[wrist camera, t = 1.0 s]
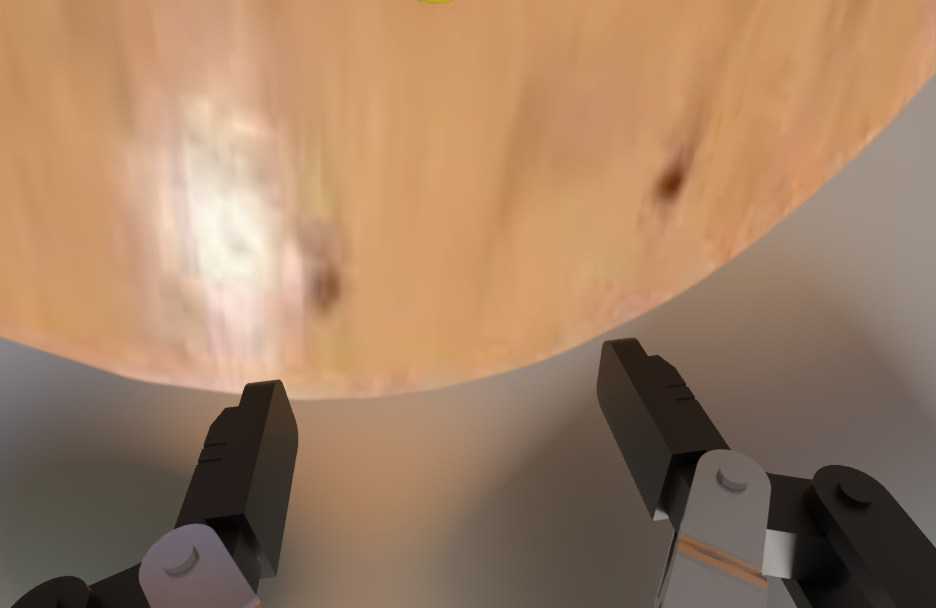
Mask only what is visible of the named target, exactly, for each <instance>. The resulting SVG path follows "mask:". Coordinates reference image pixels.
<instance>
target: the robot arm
mask: <svg viewBox="0 0 936 608" xmlns="http://www.w3.org/2000/svg"><path fill="white" fill-rule="evenodd" d="M597 395H598V400H599V404H600V407H601V409H602V412H603V414H604V416H605V418H606V420H607V423H608V425H609V427H610V429H611V431H612V433H613V435H614V438H615V440H616V442H617V444H618V446H619V449H620V451H621V453H622V455H623V457H624V459H625V462H626V464H627V466H628V468H629V470H630V472H631V475H632V477H633V479H634V481H635V483H636V485H637V488H638V490H639V492H640V494H641V496H642V499H643V501H644V503H645V505H646V507H647V509H648V511H649V514H650V516H651V518H652V520H653V521H654V520H661V519H668V518H669V519H670V521H671V523H672V526H673V527H674V530H675V531H674V533H673V537H672V541H671V544H670V548H669V552H668V556H667V559H666V563H665V567H664V571H663V575H662V578H661V582H660V586H659V590H658V593H657V597H656V601H655V605H654V608H766V604H767V594H768V581H767V578H766V577H765V576H763V575H762V574H765V575H771V576H776V577H781V579H782V581H783V583H784V585H785V586H786V588H787V590H788V592H789V594H790V595H791V597H792V599H793V601H794V602H795V604H796V606H797V608H936V548H935V547H934V546H933V544H932V543H931V542H930V541H929V540H928V538H926V536H925V535H924V534H923V532H922V531H921V530H920V529H919V528H918V526H917V525H916V524H915V523H914V522H913V521H912V519H911V518H910V517H909V516H908V515H907V513H906V512H905V511H904V510H903V508H902V507H901V506H900V505H899V504H898V502H897V501H896V500H895V499H894V498H893V496H892V495H891V494H890V493H889V492H888V491H887V490H886V488H884V486H883V485H881V484H880V483H879V482H878V481H877V480H875V479H874V478H872V477H871V476H869V475H867V474H865V473H863V472H861V471H859V470H857V469H854V468H851V467H847V466H841V465H829V466H825V467H822V468H820V469H819V470H818V471H817V472H816V473H815V475H814V477H813V479H812V480H811V479H804V478H797V477H790V476H783V475H775V474H771V473H767V472H765V471H764V470H763V469H762V468H761V467H760V466H759V465H758V464H757V463H756V462H755V461H753V460H752V459H750V458H749V457H747V456H745V455H743V454H741V453H738V452H735V451H732V450H731V449H730V448H729V447H728V445H727V444H726V442H725V441H724V439H723V438H722V437H721V435H720V433H719V432H718V430H717V429H716V427H715V426H714V424H713V423H712V422H711V420H710V419H709V417H708V416H707V414H706V413H705V411H704V410H703V408H702V407H701V405H700V404H699V402H698V401H697V400H695V396H694V395H693V393H692V392H691V391H690V389H689V388H688V387H686V383H685V381H684V380H683V379H682V377H681V376H680V374H679V373H678V371H677V370H676V368H675V367H673V366H672V365H671V364H669V363H668V362H667V361H665V360H664V359H663V358H661V357H660V356H659V355H654V356H647V354H646V352H645V351H644V349H643V348H642V346H641V345H640V343H639V341H638V340H637V339H636V338H626V339H617V340H609V341H605V342H604V343H603V346H602V352H601V359H600V366H599V373H598V380H597ZM297 449H298V429H297V424H296V420H295V417H294V414H293V412H292V409H291V406H290V403H289V400H288V397H287V394H286V391H285V388H284V386H283V383H282V382H281V380H271V381H262V382H254V383H248V384H246V386H245V387H244V390H243V394H242V397H241V400H240V403H239V406H237V407H229V408H225V409H224V410H223V412H222V413H221V414H220V415H219V416H218V417H217V419H216V420H215V421H214V422H213V423H212V425H211V426H210V428H209V431H208V434H207V437H206V440H205V443H204V449H202V451H201V454H200V457H199V460H198V465H196V468H195V471H194V474H193V477H192V480H191V483H190V485H189V488H188V491H187V494H186V497H185V499H184V502H183V505H182V508H181V511H180V514H179V516H178V519H177V522H176V525H175V527H174V529H173V530H172V531H171V532H169V533H167V534H166V535H164V536H163V537H162V538H160V539H159V540H158V541H157V542H156V543H155V544H154V545H153V546H152V547H151V548H150V550H149V551H148V552H147V554H146V555H145V557H144V559H143V561H142V562H141V563H139V564H137V565H135V566H133V567H131V568H129V569H127V570H124V571H122V572H120V573H118V574H115V575H113V576H110V577H108V578H106V579H103V580H101V581H99V582H97V583H95V584H92V585H90V586H88V585H87V584H86V583H85V582H84V581H83V580H81V579H80V578H77V577H73V576H64V577H58V578H54V579H51V580H49V581H46V582H44V583H42V584H40V585H38V586H36V587H35V588H33V589H32V590H30V591H29V592H28V593H26V594H25V595H24V596H22V597H21V598H20V599H19V600H18V601H17V602H16V603H15V604H14V605H13V606H12V607H11V608H264V606H263V605H262V604H261V603H260V601H259V599H258V598H257V596H256V594H257V589H258V584H259V579H262V578H269V577H275V576H276V575H277V569H278V563H279V557H280V551H281V545H282V539H283V533H284V527H285V521H286V515H287V509H288V503H289V497H290V491H291V484H292V479H293V473H294V466H295V461H296V455H297Z"/></svg>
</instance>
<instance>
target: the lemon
mask: <svg viewBox="0 0 936 608" xmlns="http://www.w3.org/2000/svg"><path fill="white" fill-rule="evenodd" d="M418 1H420V2H425V3H430V4H438V3H447V2H450V1H452V0H418Z"/></svg>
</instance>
